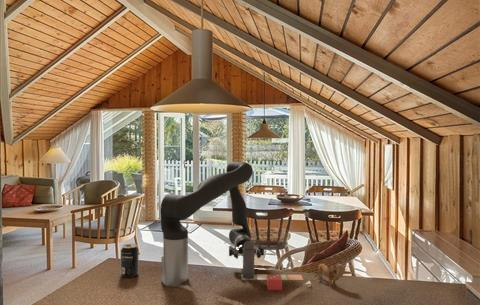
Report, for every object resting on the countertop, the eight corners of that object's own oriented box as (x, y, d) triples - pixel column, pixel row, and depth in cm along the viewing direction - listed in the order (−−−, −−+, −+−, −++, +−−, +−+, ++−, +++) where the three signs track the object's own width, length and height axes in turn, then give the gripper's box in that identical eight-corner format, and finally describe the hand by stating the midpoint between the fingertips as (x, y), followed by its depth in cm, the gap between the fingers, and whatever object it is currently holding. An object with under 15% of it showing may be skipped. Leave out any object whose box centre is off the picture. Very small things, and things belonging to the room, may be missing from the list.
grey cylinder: (240, 277, 140) (240, 241, 140) (247, 274, 144) (247, 238, 143) (249, 279, 138) (250, 242, 137) (256, 276, 141) (256, 240, 141)
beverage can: (131, 271, 150) (131, 242, 150) (141, 274, 146) (142, 245, 146) (116, 276, 144) (117, 246, 144) (127, 279, 140) (127, 248, 140)
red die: (267, 293, 128) (268, 279, 128) (266, 288, 133) (266, 274, 133) (282, 293, 128) (282, 279, 128) (280, 288, 133) (280, 274, 133)
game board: (235, 286, 135) (235, 282, 135) (235, 275, 147) (235, 271, 147) (311, 286, 135) (311, 283, 135) (305, 275, 147) (305, 272, 147)
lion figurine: (347, 288, 134) (347, 264, 134) (338, 291, 131) (338, 266, 130) (317, 276, 146) (318, 254, 146) (308, 279, 143) (308, 256, 143)
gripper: (227, 236, 158) (229, 246, 142) (259, 236, 159) (266, 246, 143) (227, 253, 158) (229, 265, 142) (259, 253, 159) (265, 265, 143)
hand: (248, 255), depth 142 cm, fingers open, 8 cm apart
